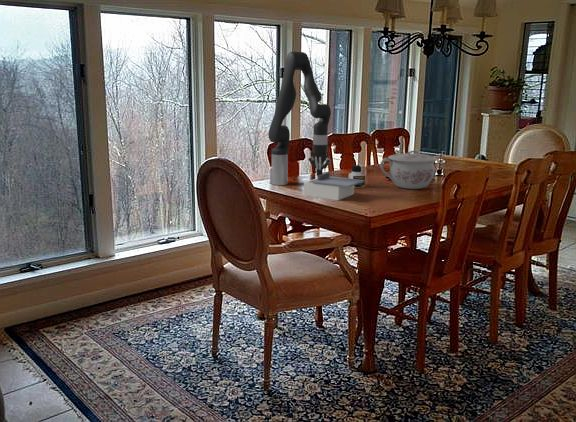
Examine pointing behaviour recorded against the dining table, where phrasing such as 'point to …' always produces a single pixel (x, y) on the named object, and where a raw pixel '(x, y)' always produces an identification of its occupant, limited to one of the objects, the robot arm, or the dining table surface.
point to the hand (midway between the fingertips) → (319, 176)
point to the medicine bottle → (357, 175)
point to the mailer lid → (336, 180)
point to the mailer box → (327, 190)
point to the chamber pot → (410, 169)
